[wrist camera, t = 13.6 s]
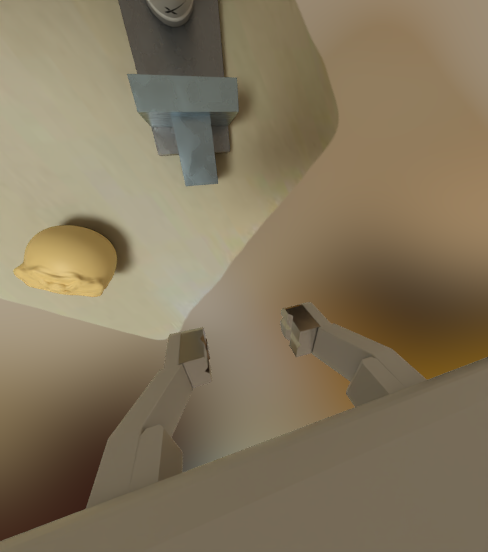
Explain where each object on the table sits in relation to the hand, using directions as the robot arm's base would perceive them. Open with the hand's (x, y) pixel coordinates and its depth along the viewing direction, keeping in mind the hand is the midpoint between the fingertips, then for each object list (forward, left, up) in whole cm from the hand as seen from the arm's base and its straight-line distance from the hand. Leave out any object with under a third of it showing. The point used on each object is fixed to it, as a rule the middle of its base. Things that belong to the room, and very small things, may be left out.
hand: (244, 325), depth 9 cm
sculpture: (-24, -5, -33) cm, 41 cm away
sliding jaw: (0, +11, -31) cm, 33 cm away
